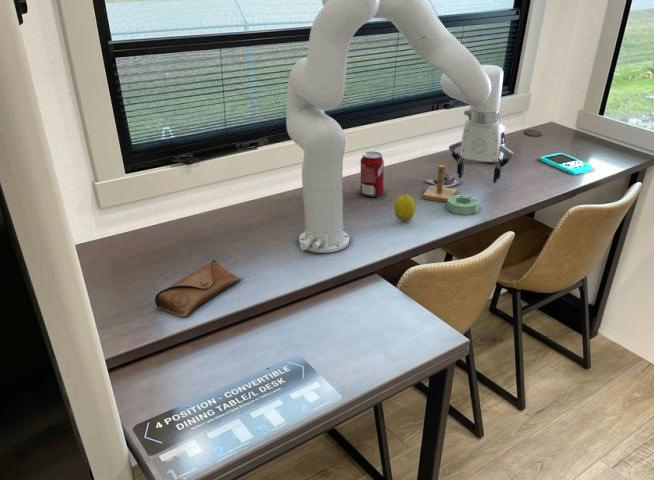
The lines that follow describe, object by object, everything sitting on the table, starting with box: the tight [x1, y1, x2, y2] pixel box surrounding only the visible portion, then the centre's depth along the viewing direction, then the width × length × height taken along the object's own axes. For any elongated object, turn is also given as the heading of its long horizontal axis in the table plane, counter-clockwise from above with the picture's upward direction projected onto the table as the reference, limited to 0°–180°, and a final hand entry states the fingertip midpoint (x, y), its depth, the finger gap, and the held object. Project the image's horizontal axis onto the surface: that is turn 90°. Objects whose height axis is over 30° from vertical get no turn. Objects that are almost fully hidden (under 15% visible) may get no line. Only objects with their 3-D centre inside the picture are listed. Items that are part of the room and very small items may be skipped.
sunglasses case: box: [154, 259, 242, 318], centre depth 129 cm, size 18×7×7 cm
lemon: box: [394, 193, 416, 223], centre depth 161 cm, size 6×6×8 cm
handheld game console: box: [540, 152, 593, 176], centre depth 204 cm, size 10×16×1 cm, turn 30°
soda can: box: [360, 151, 385, 198], centre depth 176 cm, size 7×7×12 cm
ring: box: [446, 194, 480, 216], centre depth 171 cm, size 8×8×2 cm
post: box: [422, 164, 457, 203], centre depth 176 cm, size 8×8×9 cm
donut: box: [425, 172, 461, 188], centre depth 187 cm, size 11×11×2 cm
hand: (477, 178), depth 166 cm, fingers open, 9 cm apart
